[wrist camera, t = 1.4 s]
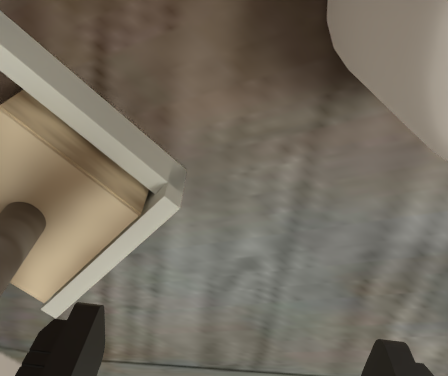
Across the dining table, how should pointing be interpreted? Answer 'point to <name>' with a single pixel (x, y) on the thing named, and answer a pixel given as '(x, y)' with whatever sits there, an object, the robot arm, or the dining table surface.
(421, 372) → the robot arm
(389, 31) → the white plastic bottle
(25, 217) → the box with grey peg
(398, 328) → the dining table surface
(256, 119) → the dining table surface
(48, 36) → the dining table surface
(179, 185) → the frame
